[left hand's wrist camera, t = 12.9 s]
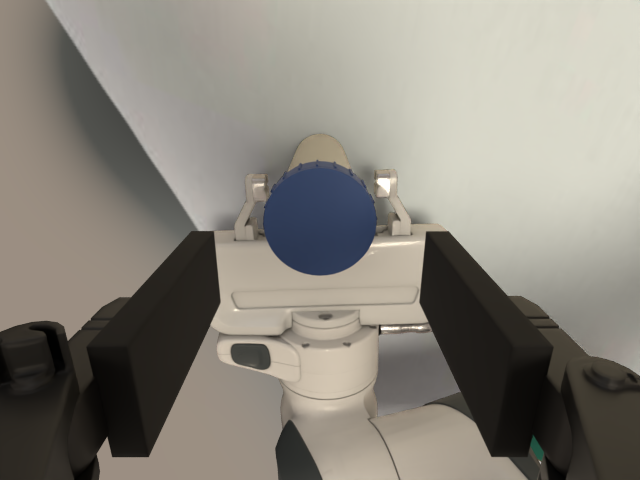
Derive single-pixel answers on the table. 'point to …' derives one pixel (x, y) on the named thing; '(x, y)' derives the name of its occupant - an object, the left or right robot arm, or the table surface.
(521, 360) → the left robot arm
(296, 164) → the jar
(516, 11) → the table surface
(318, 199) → the lid
